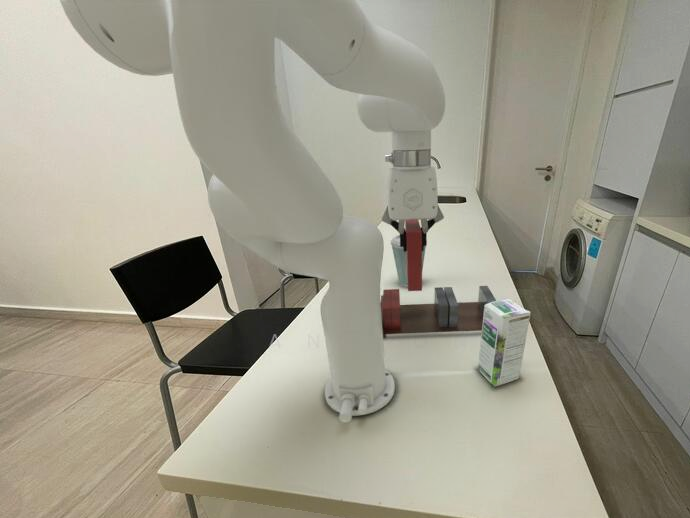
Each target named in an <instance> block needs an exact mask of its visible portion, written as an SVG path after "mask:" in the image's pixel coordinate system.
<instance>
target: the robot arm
mask: <svg viewBox="0 0 690 518" xmlns="http://www.w3.org/2000/svg"><path fill="white" fill-rule="evenodd" d="M59 2H60V4H61V7H62V8H63V12H64V14H65V16H66V17H67V19H68V21H69V23H70V24H71V26H72V28H73V29H74V30H75V32H76V33H77V34H78V35H79V37H80V38H81V39H82V40H83V41H84V42H85V43H86V44H87V45H88V46H89V47H90V48H91V49H92V50H93V51H94V52H95V53H97V54H98V55H99V56H101V58H103V59H104V60H106V61H107V62H109V63H111V64H113V65H114V66H116V67H117V68H119V69H122V70H124V71H126V72H130V73H132V74H134V75H135V74H136V75H140V76H146V77H147V76H149V77H157V76H158V77H159V76H165V75H172V77H173V82H174V88H175V95H176V100H177V105H178V110H179V111H178V112H179V115H180V120H181V123H182V127H183V130H184V134H185V136H186V139H187V141H188V143H189V145H190V147H191V149H192V151H193V152H194V154H195V156H196V157H197V159H199V160H200V162H201V164H202V165H204V167H205V168H206V169H208V171H209V172H210V173H211V174H212V176H211V177H210V180H209V182H208V187H207V200H208V201H207V202H208V205H209V208H210V211H211V213H212V216H213V217H214V219H215V222H216V223H218V225H219V226H220V228H221V229H222V230H223V231H224V232H225V233H226V234H227V235H229V236H230V237H231V238H232V239H233V240H235V241H236V242H238V243H239V244H241V245H242V246H244V247H245V248H246V249H248V250H249V251H251V252H253V253H254V254H256V255H257V256H258V257H260V258H262V259H263V260H265V261H266V262H267V263H269V264H270V265H272V266H273V267H275V268H277V269H279V270H281V271H283V272H286V273H289V274H294V275H299V276H305V277H311V278H316V279H320V280H321V279H322V280H324V281H327V282H328V284H329V285H328V286H329V287H328V289H327V291H326V292H325V294H324V295H323V297H322V299H321V302H320V307H319V308H320V318H321V323H322V330H323V336H324V339H325V340H324V342H325V346H326V348H325V349H326V354H327V360H328V366H329V373H330V378H329V379H328V380H327V382H326V384H325V387H324V397H325V401H326V403H327V405H328V406H329V407H330V408H331V409H332V410H333V411H335V412H337V413H339V416H338V419H339V420H340V422H342V423H350V422H351V421H352V418H353V417H356V416H365V415H369V414H372V413H374V412H378V411H379V410H381V409H382V408H384V407H385V406H387V405H388V404H389V403H390V401H391V400H392V398H393V397H394V394H395V391H396V384H395V379H394V377H393V375H392V373H391V372H389V371H388V370H387V369H386V362H385V361H386V360H385V348H384V347H385V346H384V338H383V331H382V316H381V277H382V267H383V259H384V252H385V251H384V250H385V243H384V237H383V234H382V231H381V230H380V229H379V227H378V226H377V225H376V224H375V223H373V222H372V221H370V220H368V219H367V218H364V217H360V216H356V215H350V214H344V208H343V203H342V202H343V201H342V199H341V196H340V195H339V193H338V191H337V189H336V187H335V185H334V184H333V182H332V181H331V180H330V178H329V177H328V175H327V174H326V173H325V172H324V170H323V169H322V167H321V166H320V164H319V163H318V162H317V160H316V159H315V158H314V157H313V155H312V154H311V152H310V151H309V149H308V148H307V147H306V146H305V144H304V143H303V142H302V140H301V139H300V138H299V136H298V134H297V133H296V131H295V130H294V128H293V127H292V126H291V124H290V123H289V120H288V119H287V117H286V115H285V114H284V111H283V109H282V106H281V103H280V100H279V95H278V87H277V79H276V64H275V63H276V60H275V58H276V57H275V55H276V54H275V41H276V40H275V39H278V40H280V42H283V44H284V45H286V46H287V47H288V48H289V49H290V50H291V51H292V52H294V53H295V55H297V56H298V57H299V58H300V59H302V60H303V61H304V62H305V63H306V64H307V65H308V66H309V67H310V68H311V69H312V70H313V71H314V72H315V73H317V74H318V75H319V77H320V78H322V79H323V80H324V81H325V82H326V83H328V85H331V86H332V87H334V88H335V89H339V90H342V91H346V92H350V93H354V94H358V96H357V101H356V108H357V114H358V118H359V119H360V122H361V123H362V124H363V126H364V127H365V128H367V129H368V130H369V131H372V132H375V133H391V150H392V152H390V153H388V154H385V155H384V157H385V158H384V160H385V163H391V165H392V167H390V168H389V170H388V177H387V206H386V208H385V210H384V213H383V214H382V217H381V221H382V222H383V223H385V224H387V225H390V226H391V227H392V228H394V229H395V231H397V232H398V234H399V235H400V247H403V250H404V252H406V251H407V240H406V231H405V220H418V221H420V224H421V225H420V228H421V231H422V251H424V246H426V247H427V246H428V245H427V244H428V240H427V239H428V238H427V237H428V236H427V234H428V232H429V231H430V229H431V228H432V227H434V225H435V224H437V223H440V222H441V221H442V220H444V219H445V216H444V213H443V212H442V210H441V208H440V207H439V201H438V198H439V197H438V181H437V172H436V171H437V170H436V167H435V166H433V165H432V130H434V129H436V128H437V127H438V126H439V125H440V124H441V122H442V120H443V118H444V116H445V111H446V96H445V95H446V94H445V92H444V87H443V84H442V81H441V78H440V75H439V73H438V72H437V69H436V68H435V66H434V64H433V62H432V60H431V58H430V57H429V56H428V55H427V54H426V53H425V51H423V50H422V49H421V48H419V46H417V45H416V44H414V43H412V42H410V41H409V40H407V39H405V38H403V37H401V36H400V35H398V34H396V33H394V32H393V31H390V30H388V29H386V28H384V27H382V26H380V25H378V24H376V23H374V22H371V20H369V18H368V17H367V15H366V14H365V12H364V11H363V9H362V8H361V6H360V4H358V2H357V1H356V0H59Z"/></svg>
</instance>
